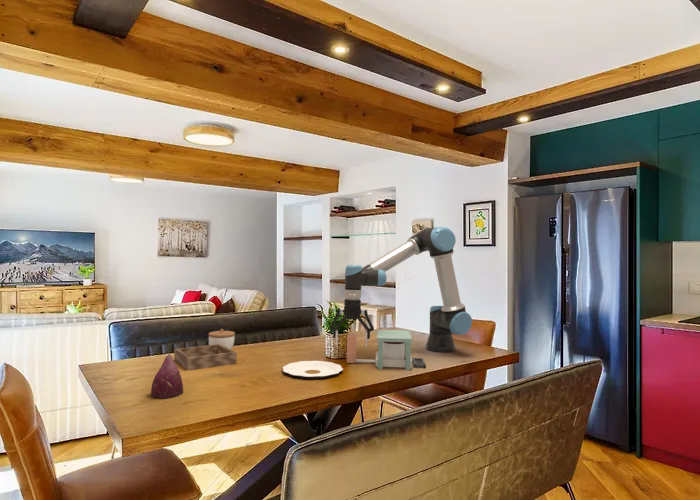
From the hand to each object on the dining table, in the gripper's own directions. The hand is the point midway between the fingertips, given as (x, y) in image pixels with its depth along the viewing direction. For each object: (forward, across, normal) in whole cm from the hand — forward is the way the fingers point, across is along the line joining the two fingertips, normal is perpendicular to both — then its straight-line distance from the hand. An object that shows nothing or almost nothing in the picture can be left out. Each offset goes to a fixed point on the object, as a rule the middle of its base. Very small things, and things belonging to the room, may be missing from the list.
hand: (351, 345), depth 208 cm
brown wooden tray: (+8, -65, -8) cm, 66 cm away
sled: (+7, +13, 0) cm, 15 cm away
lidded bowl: (+9, -65, +14) cm, 67 cm away
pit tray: (+7, +31, 0) cm, 32 cm away
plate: (+8, -15, -18) cm, 25 cm away
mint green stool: (+8, +19, 0) cm, 21 cm away
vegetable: (+9, -61, -54) cm, 82 cm away
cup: (+8, +19, 0) cm, 21 cm away
